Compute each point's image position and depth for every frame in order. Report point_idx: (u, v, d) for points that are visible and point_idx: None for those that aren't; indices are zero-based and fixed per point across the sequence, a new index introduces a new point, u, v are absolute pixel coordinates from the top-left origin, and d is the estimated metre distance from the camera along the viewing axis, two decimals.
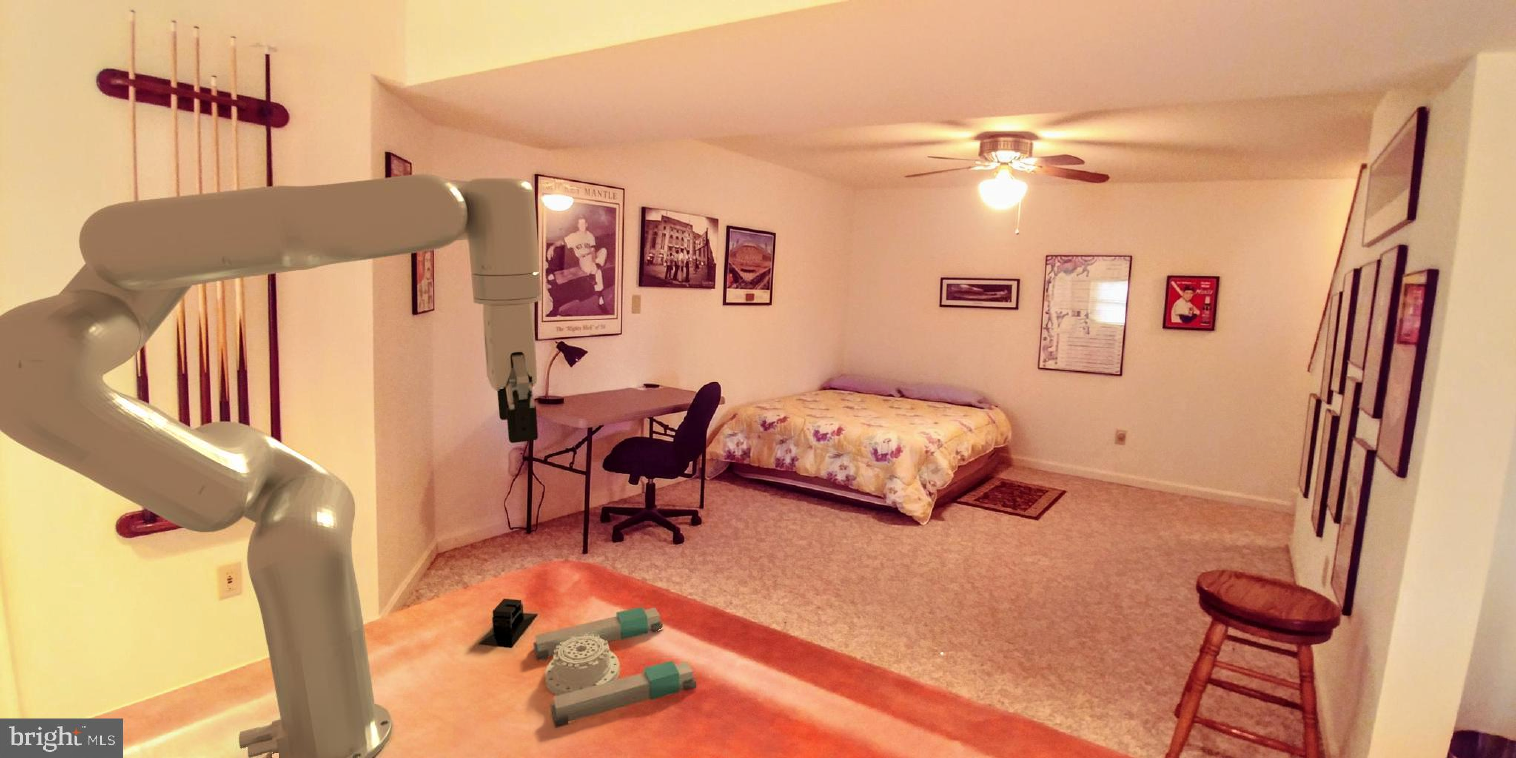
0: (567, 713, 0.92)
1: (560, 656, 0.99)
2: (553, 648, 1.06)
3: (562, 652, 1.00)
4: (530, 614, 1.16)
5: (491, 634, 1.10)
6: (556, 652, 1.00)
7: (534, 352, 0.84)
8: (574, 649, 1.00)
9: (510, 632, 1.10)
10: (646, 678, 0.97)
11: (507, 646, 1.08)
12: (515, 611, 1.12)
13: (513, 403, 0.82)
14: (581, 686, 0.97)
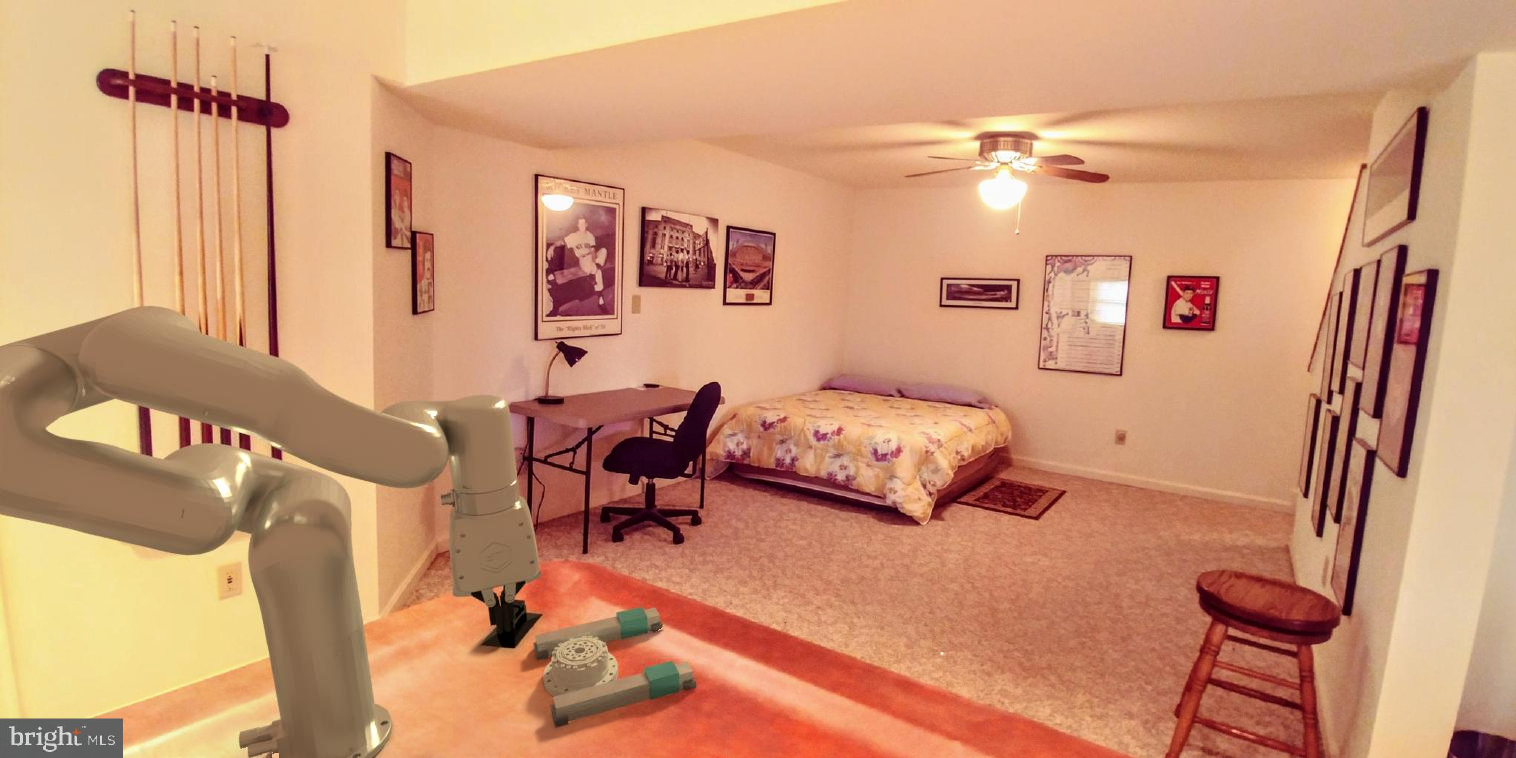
0: (567, 713, 0.92)
1: (558, 658, 0.99)
2: (553, 648, 1.06)
3: (560, 654, 0.99)
4: (533, 614, 1.16)
5: (494, 634, 1.10)
6: (554, 654, 1.00)
7: None
8: (572, 651, 1.00)
9: (513, 632, 1.10)
10: (646, 678, 0.97)
11: (510, 647, 1.08)
12: (518, 611, 1.12)
13: None
14: (579, 688, 0.97)
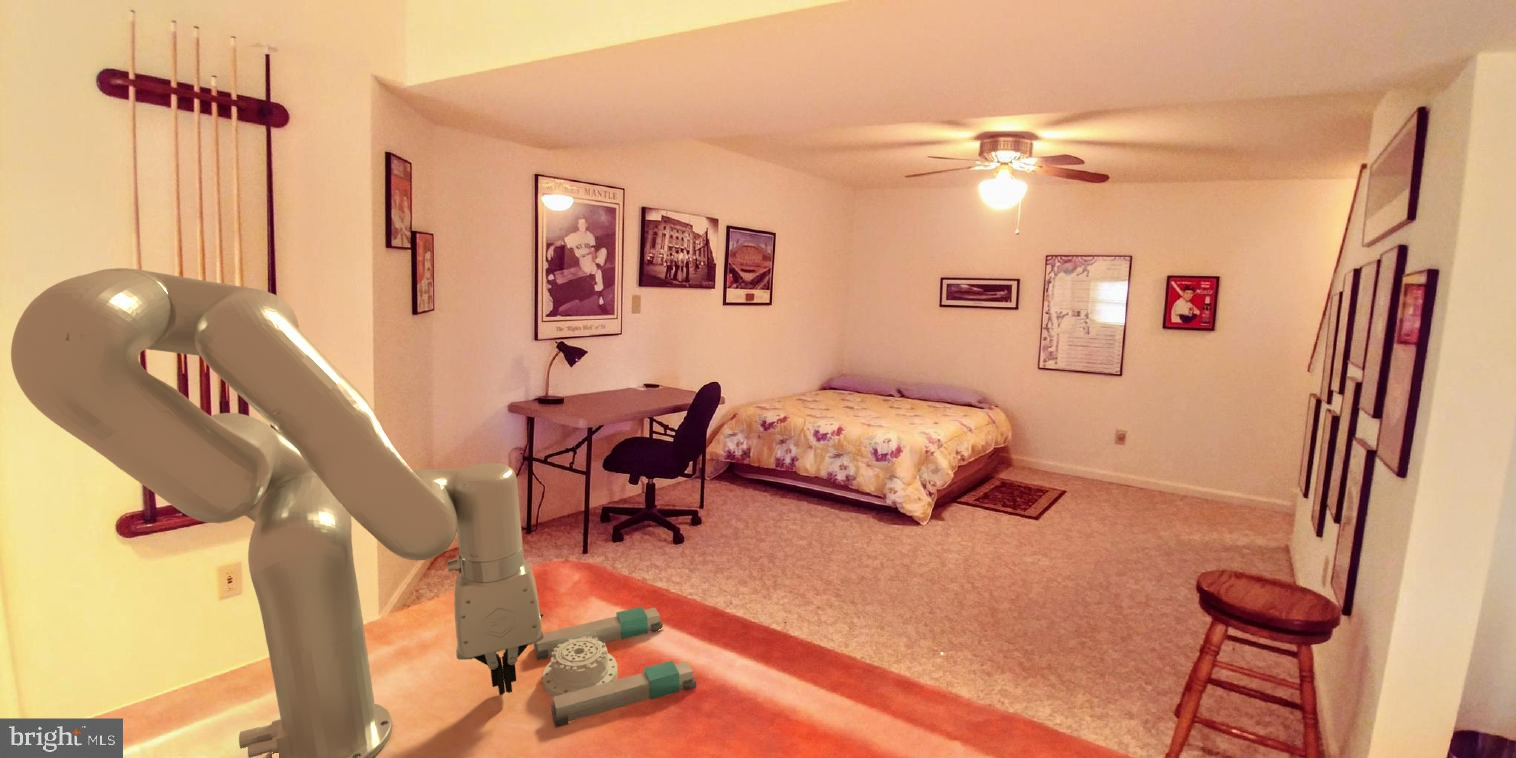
0: (567, 713, 0.92)
1: (558, 658, 0.98)
2: (553, 648, 1.06)
3: (560, 654, 0.99)
4: None
5: None
6: (554, 654, 1.00)
7: None
8: (572, 651, 1.00)
9: None
10: (646, 678, 0.97)
11: None
12: None
13: None
14: (579, 689, 0.97)
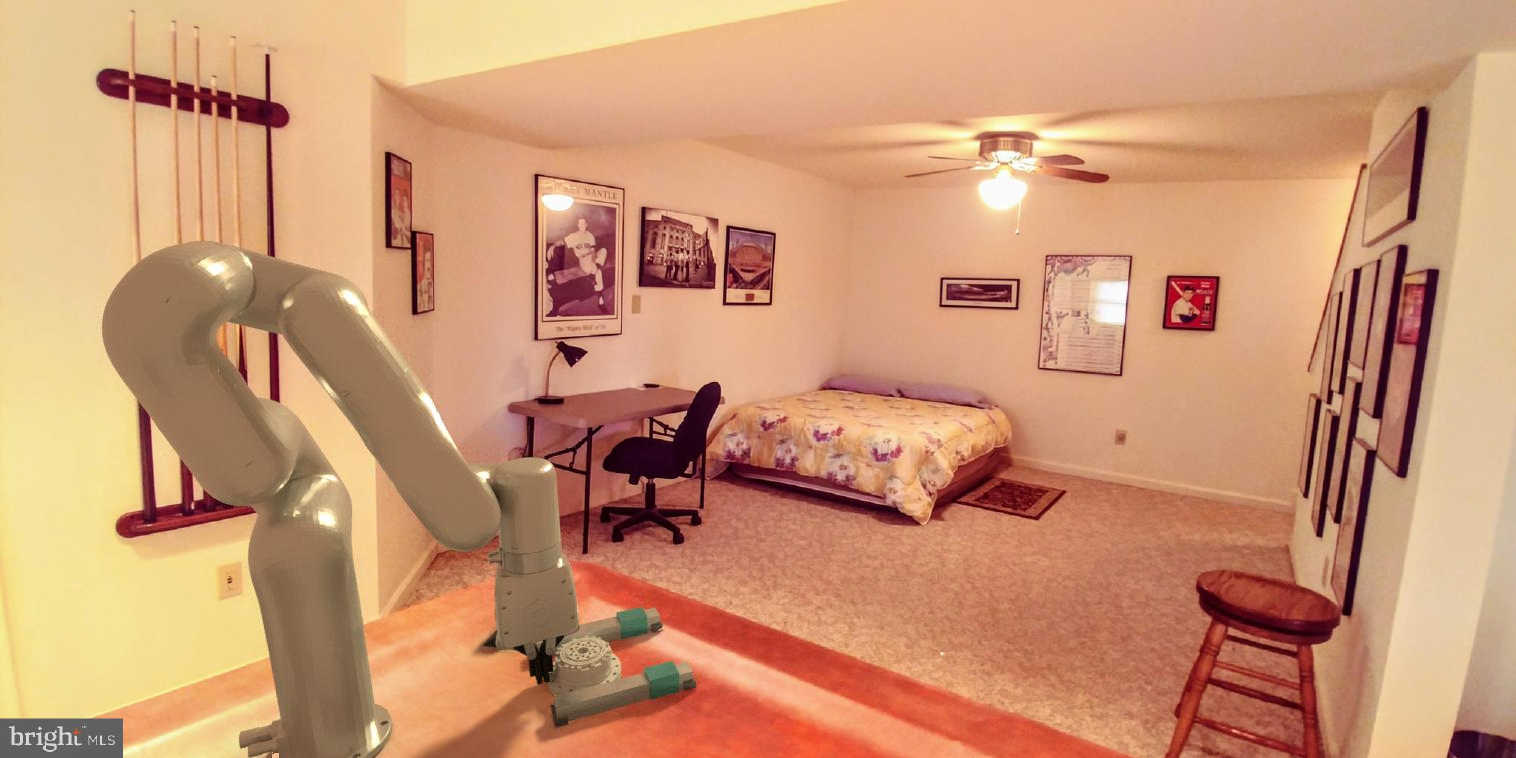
0: (567, 713, 0.92)
1: (562, 658, 0.98)
2: None
3: (564, 654, 0.99)
4: None
5: None
6: (558, 654, 1.00)
7: None
8: (576, 651, 1.00)
9: None
10: (646, 678, 0.97)
11: None
12: None
13: None
14: (583, 688, 0.97)
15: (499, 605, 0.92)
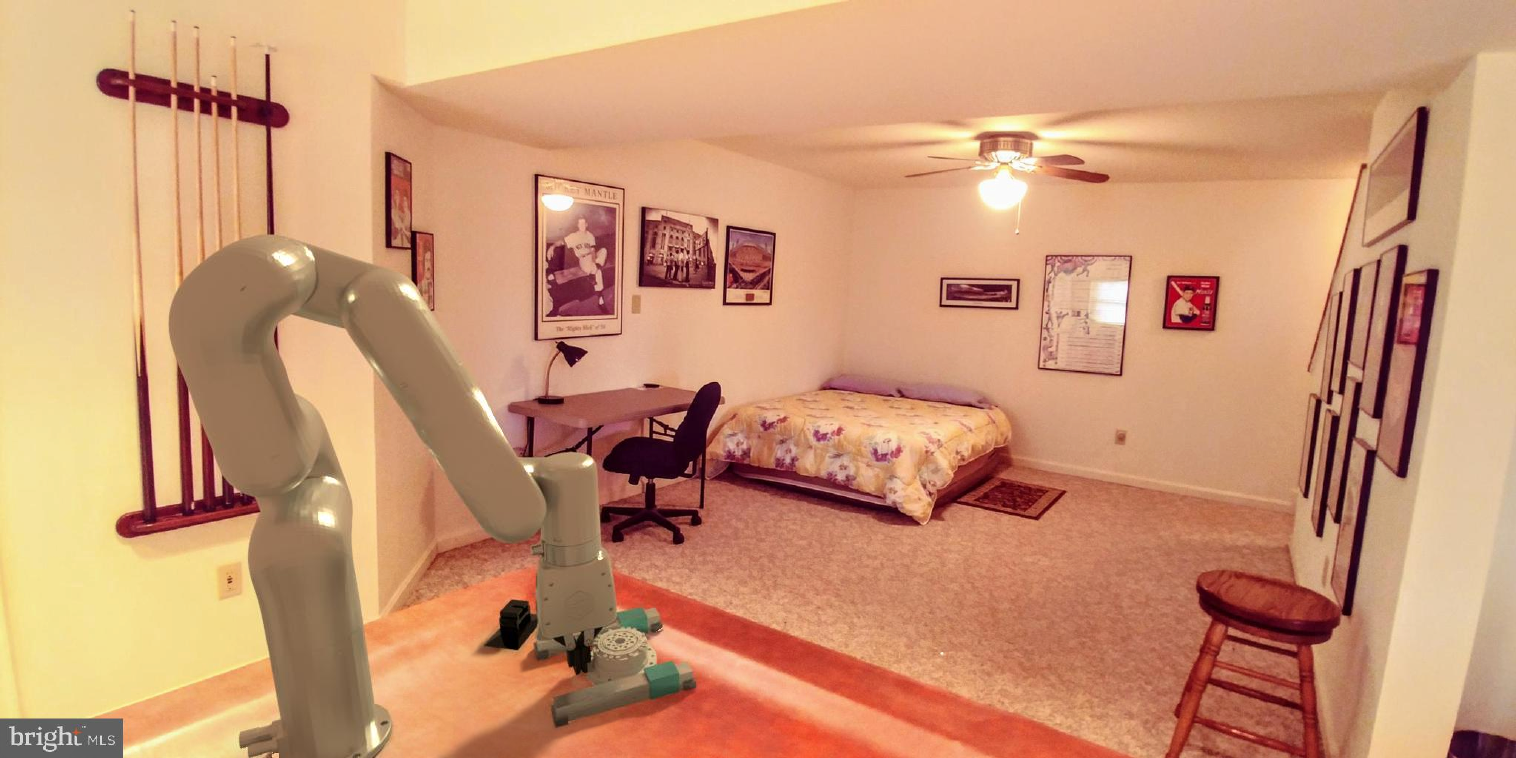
0: (567, 713, 0.92)
1: (600, 648, 1.00)
2: (553, 648, 1.06)
3: (602, 644, 1.01)
4: None
5: (498, 635, 1.10)
6: (595, 645, 1.02)
7: None
8: (613, 641, 1.02)
9: (517, 633, 1.10)
10: (646, 678, 0.97)
11: (513, 647, 1.08)
12: (522, 612, 1.12)
13: None
14: (622, 677, 0.99)
15: (541, 596, 0.94)
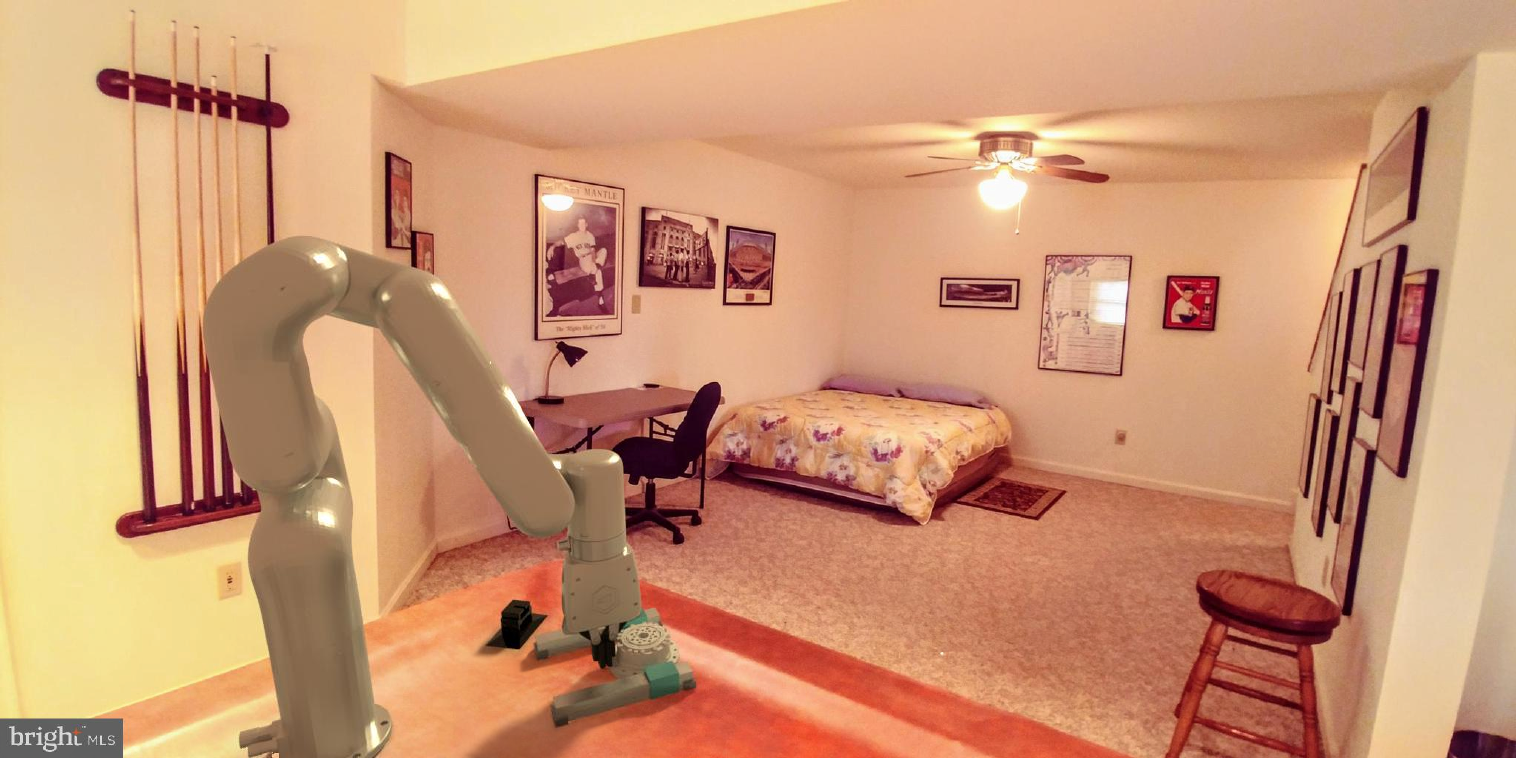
0: (567, 713, 0.92)
1: (624, 643, 1.02)
2: (553, 648, 1.06)
3: (625, 639, 1.03)
4: (539, 615, 1.16)
5: (499, 635, 1.10)
6: (619, 639, 1.03)
7: None
8: (637, 636, 1.03)
9: (518, 633, 1.10)
10: (646, 678, 0.97)
11: (515, 648, 1.08)
12: (524, 612, 1.12)
13: None
14: None
15: (568, 591, 0.95)
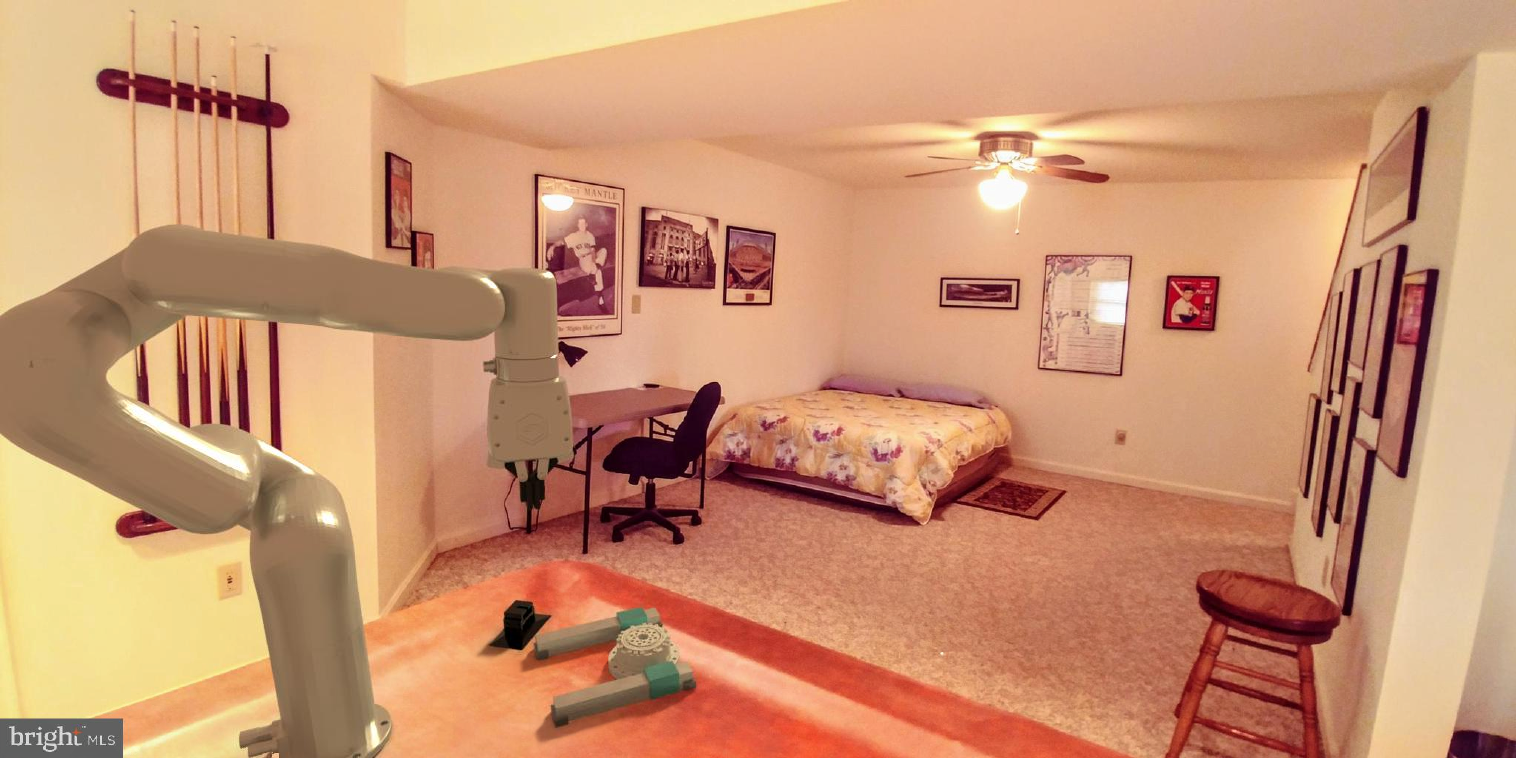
0: (567, 713, 0.92)
1: (624, 644, 1.02)
2: (553, 648, 1.06)
3: (625, 640, 1.02)
4: (542, 616, 1.16)
5: (502, 635, 1.10)
6: (619, 641, 1.03)
7: None
8: (636, 637, 1.03)
9: (521, 634, 1.10)
10: (646, 678, 0.97)
11: (517, 648, 1.07)
12: (526, 613, 1.12)
13: None
14: None
15: (491, 414, 0.89)
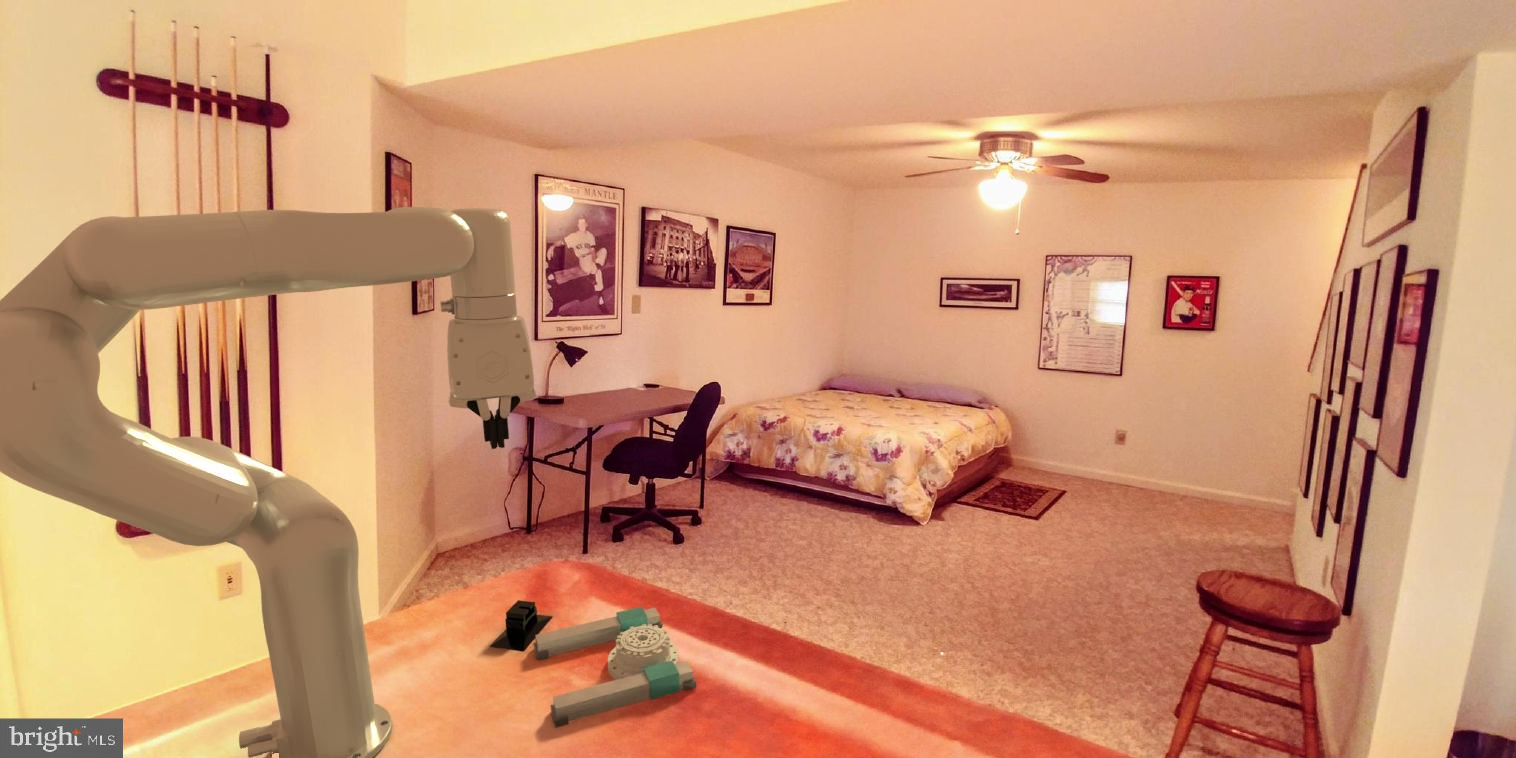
0: (567, 713, 0.92)
1: (623, 645, 1.01)
2: (553, 648, 1.06)
3: (625, 641, 1.02)
4: (544, 616, 1.15)
5: (504, 636, 1.10)
6: (618, 642, 1.02)
7: None
8: (636, 638, 1.03)
9: (523, 634, 1.09)
10: (646, 678, 0.97)
11: (519, 648, 1.07)
12: (529, 613, 1.12)
13: None
14: None
15: (451, 353, 0.90)
